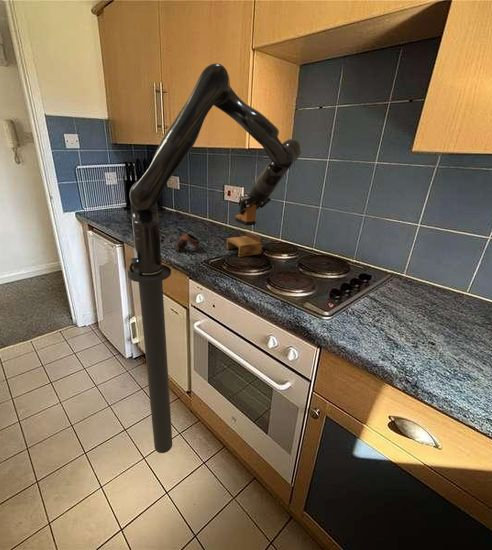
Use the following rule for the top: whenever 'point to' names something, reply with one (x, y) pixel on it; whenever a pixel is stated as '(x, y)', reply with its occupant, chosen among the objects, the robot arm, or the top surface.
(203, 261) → the top surface
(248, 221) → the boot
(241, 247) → the tan wooden block
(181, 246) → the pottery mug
